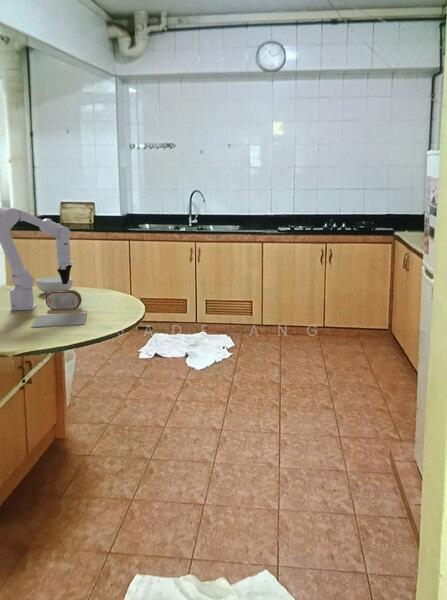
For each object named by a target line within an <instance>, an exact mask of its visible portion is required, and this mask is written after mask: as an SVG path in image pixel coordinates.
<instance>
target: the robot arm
mask: <svg viewBox="0 0 447 600" xmlns="http://www.w3.org/2000/svg"><path fill="white" fill-rule="evenodd" d="M18 222H26V223H28V224H32V225H34V226H37V227H39V230H40V231H41V232H43V233H46V234H48V235H50V236H52V237H54V238H55V243H56V254H57V255H56V258H57V263H56V264H57V266H58V267H59V268H57V271H56V272H57V273H58V274H59V276H60V277H61V280H62V283H63V284H68V281H69V277H71V276H70V275H71V269H72V267H73V265H74V261H71V248H70V247H71V246H70V238H71V236H72V232H71V230H70V228H69V227H67V226H64V225H62V223H60V222H58V223H56V222H55V221H53V219H51V218H44V219H41V218H39V217H37V216H36V215H35V216H34V215H32V214H31V213H28V212H26V211H23V210H20V209H17V208H14V207H6V206H3V207H0V246H1V248H2V250H3V253H4V255H5V257H6V259H7V262H8V264H9V266H10V269H11V270H10V274H11V281H12V283H13V285H14V288H11V289H10V290H9V300H10V311H25V310H26V311H28V310H34V309H35V308H36V306H37V304H35V303H34V292H33V291H34V290H33V286H34V284H35V279H34V277H33V276H32V275H31V274H30V272H29V270H28V268H26V267H25V265H24V263H23V261H22V258H21V256H20V254H19V252H18V249H17V247H16V244H15V242H14V240H13V237H12V235H11V230H12V228H13V227H14V226H15V225H16V224H17V223H18Z"/></svg>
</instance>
